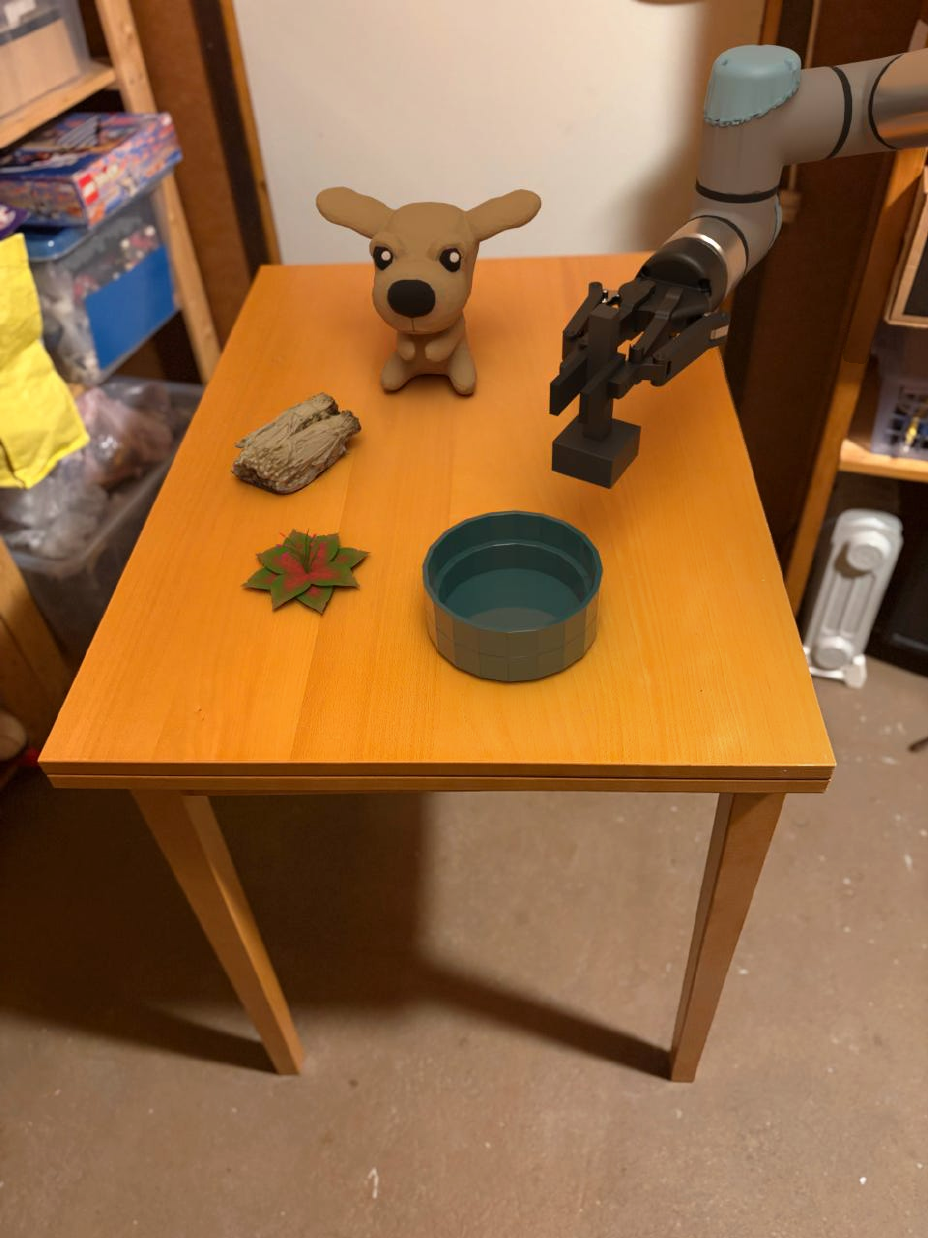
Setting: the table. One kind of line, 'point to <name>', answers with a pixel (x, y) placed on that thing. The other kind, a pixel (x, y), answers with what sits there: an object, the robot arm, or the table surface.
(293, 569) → the lily flower
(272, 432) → the weathered wood chunk
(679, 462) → the table surface
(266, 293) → the table surface
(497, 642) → the bowl
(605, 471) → the post on square base
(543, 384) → the table surface
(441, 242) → the toy
